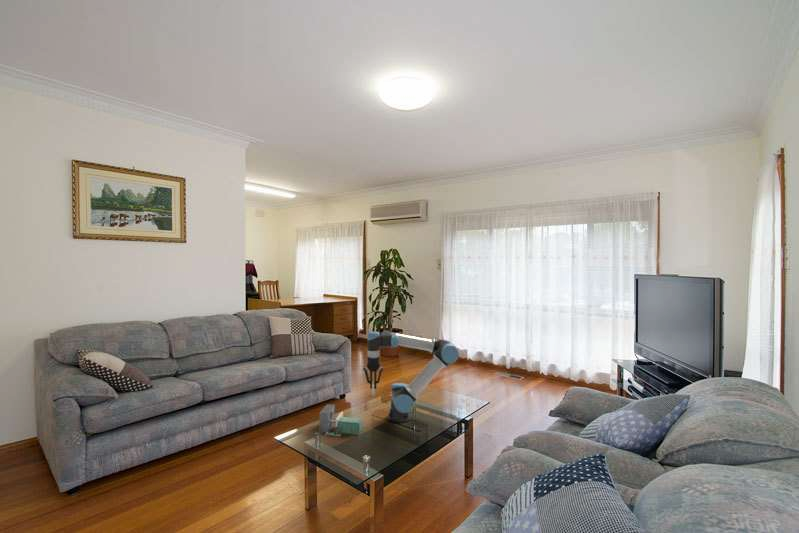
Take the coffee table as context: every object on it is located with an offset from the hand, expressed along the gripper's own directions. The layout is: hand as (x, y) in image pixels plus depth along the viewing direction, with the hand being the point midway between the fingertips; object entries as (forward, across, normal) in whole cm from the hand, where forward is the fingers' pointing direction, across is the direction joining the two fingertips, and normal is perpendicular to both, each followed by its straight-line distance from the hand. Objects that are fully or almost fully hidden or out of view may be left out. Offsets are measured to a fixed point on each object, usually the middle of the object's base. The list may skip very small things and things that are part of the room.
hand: (373, 393), depth 232 cm
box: (+21, +14, +7) cm, 26 cm away
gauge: (+20, +24, +6) cm, 32 cm away
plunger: (+20, +27, +6) cm, 34 cm away
